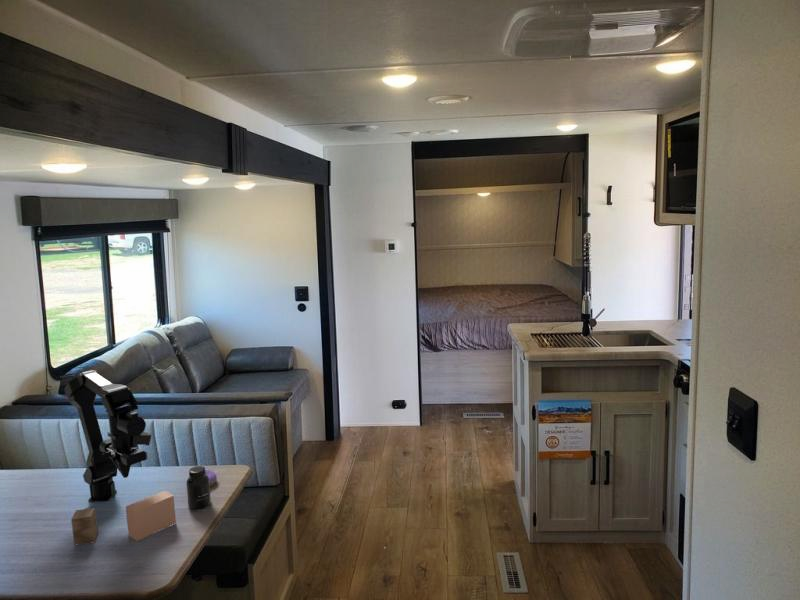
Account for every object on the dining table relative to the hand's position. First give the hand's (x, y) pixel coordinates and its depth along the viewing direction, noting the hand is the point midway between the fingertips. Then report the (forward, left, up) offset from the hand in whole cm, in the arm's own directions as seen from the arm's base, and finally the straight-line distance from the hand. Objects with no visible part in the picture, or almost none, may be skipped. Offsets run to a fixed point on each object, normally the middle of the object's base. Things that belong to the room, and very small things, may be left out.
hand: (125, 477), depth 188 cm
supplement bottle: (+20, +5, -12) cm, 24 cm away
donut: (+16, +19, -12) cm, 28 cm away
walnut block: (-6, -14, -12) cm, 19 cm away
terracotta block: (+11, -9, -12) cm, 19 cm away
